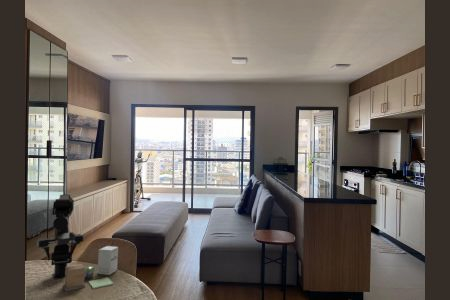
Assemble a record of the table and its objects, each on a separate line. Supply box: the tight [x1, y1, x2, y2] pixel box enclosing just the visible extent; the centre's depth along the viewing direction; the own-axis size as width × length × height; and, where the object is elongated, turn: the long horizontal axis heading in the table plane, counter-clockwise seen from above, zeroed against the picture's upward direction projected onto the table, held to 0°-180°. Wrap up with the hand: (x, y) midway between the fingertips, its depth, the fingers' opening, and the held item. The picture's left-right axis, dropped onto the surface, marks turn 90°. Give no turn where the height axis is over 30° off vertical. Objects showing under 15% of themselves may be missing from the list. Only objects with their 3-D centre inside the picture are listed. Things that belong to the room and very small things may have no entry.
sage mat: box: [88, 277, 114, 290], centre depth 141 cm, size 9×9×1 cm
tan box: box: [62, 263, 86, 292], centre depth 137 cm, size 7×8×9 cm
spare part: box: [84, 265, 95, 280], centre depth 149 cm, size 5×5×5 cm
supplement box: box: [97, 245, 119, 276], centre depth 157 cm, size 7×7×13 cm
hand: (59, 258), depth 140 cm, fingers open, 9 cm apart
